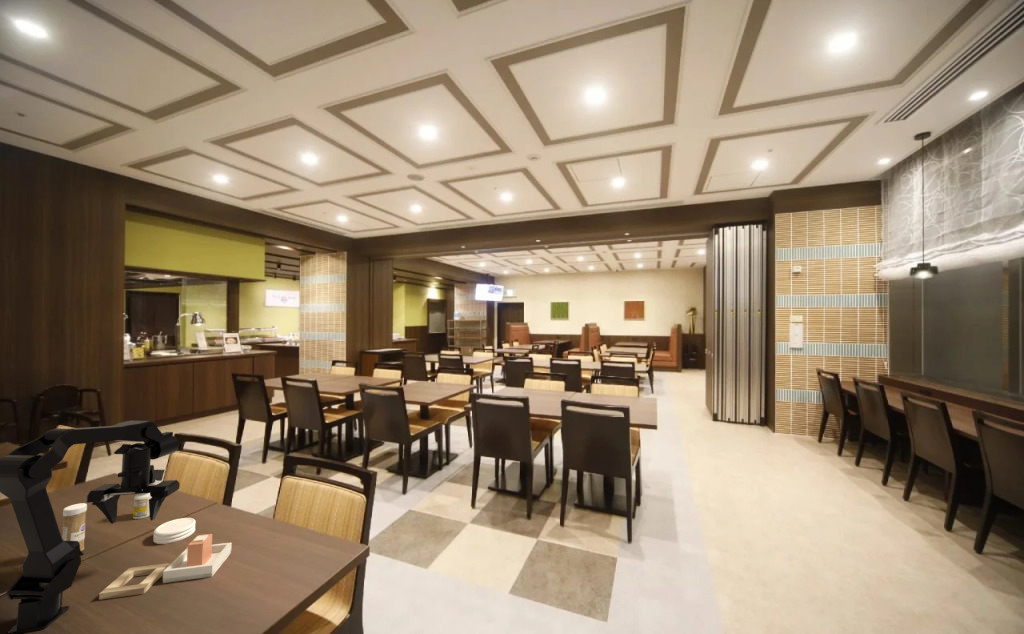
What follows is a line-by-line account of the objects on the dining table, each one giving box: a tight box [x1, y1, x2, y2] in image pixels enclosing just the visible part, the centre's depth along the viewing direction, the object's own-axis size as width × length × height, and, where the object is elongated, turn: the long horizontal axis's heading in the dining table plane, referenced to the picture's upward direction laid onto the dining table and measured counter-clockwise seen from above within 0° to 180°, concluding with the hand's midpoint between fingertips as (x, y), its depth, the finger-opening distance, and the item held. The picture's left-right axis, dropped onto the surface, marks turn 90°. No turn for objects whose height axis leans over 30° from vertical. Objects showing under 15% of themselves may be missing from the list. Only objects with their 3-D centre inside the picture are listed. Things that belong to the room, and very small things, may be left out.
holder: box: [98, 562, 170, 601], centre depth 97 cm, size 10×9×2 cm
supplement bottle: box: [132, 493, 152, 520], centre depth 131 cm, size 5×5×10 cm
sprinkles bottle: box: [61, 502, 88, 552], centre depth 109 cm, size 5×5×13 cm
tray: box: [162, 542, 233, 584], centre depth 104 cm, size 11×11×3 cm
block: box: [187, 533, 213, 567], centre depth 104 cm, size 5×4×7 cm
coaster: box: [152, 517, 197, 545], centre depth 119 cm, size 10×10×4 cm
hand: (133, 521), depth 104 cm, fingers open, 9 cm apart
